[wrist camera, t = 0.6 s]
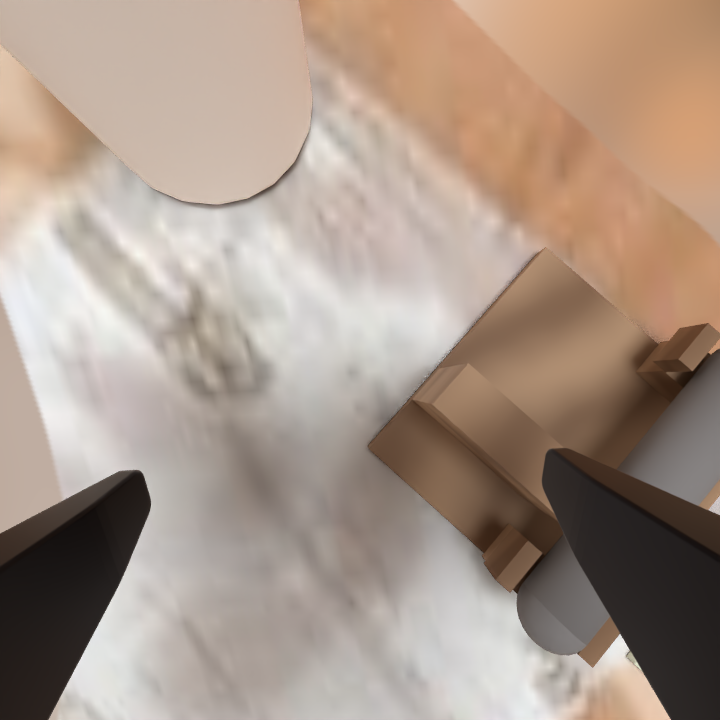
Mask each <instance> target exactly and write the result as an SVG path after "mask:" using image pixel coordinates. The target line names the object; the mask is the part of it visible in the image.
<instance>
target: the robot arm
mask: <svg viewBox="0 0 720 720" xmlns="http://www.w3.org/2000/svg"><path fill="white" fill-rule="evenodd" d="M542 487H543V490H544V492H545V495H546V497H547V499H548V501H549V503H550V505H551V507H552V510H553V512H554V514H555V516H556V518H557V520H558V523H559V525H560V527H561V529H562V531H563V533H564V535H565V538H566V540H567V542H568V544H569V546H570V548H571V550H572V552H573V554H574V556H575V558H576V559H577V561H578V563H579V565H580V566H581V568H582V570H583V572H584V573H585V575H586V577H587V578H588V580H589V582H590V583H591V585H592V587H593V588H594V590H595V592H596V594H597V595H598V597H599V599H600V600H601V602H602V604H603V605H604V607H605V609H606V610H607V612H608V614H609V616H610V617H611V619H612V621H613V622H614V624H615V626H616V627H617V629H618V631H619V632H620V634H621V636H622V638H623V639H624V641H625V643H626V644H627V646H628V648H629V649H630V651H631V653H632V654H633V656H634V658H635V660H636V661H637V663H638V665H639V666H640V668H641V670H642V671H643V673H644V675H645V676H646V678H647V680H648V682H649V683H650V685H651V687H652V688H653V690H654V692H655V693H656V695H657V697H658V699H659V700H660V702H661V704H662V705H663V707H664V709H665V710H666V712H667V714H668V715H669V717H670V719H671V720H720V515H718V514H716V513H713V512H711V511H709V510H706V509H704V508H702V507H700V506H697V505H695V504H693V503H691V502H688V501H686V500H684V499H682V498H679V497H677V496H675V495H673V494H670V493H668V492H666V491H664V490H661V489H659V488H657V487H655V486H652V485H650V484H648V483H646V482H643V481H641V480H639V479H637V478H634V477H632V476H630V475H628V474H625V473H623V472H621V471H619V470H616V469H614V468H612V467H610V466H607V465H605V464H603V463H601V462H598V461H596V460H594V459H592V458H589V457H587V456H585V455H583V454H580V453H578V452H576V451H574V450H571V449H569V448H551V449H549V450H548V451H547V452H546V455H545V461H544V467H543V473H542ZM150 508H151V499H150V495H149V492H148V488H147V485H146V481H145V478H144V475H143V473H142V472H141V471H139V470H126V471H119V472H117V473H115V474H113V475H111V476H109V477H107V478H105V479H103V480H102V481H100V482H98V483H96V484H94V485H92V486H90V487H88V488H86V489H84V490H82V491H81V492H79V493H77V494H75V495H73V496H71V497H69V498H67V499H65V500H63V501H61V502H60V503H58V504H56V505H54V506H52V507H50V508H48V509H46V510H44V511H42V512H41V513H39V514H37V515H35V516H33V517H31V518H29V519H27V520H25V521H23V522H21V523H20V524H18V525H16V526H14V527H12V528H10V529H8V530H6V531H4V532H2V533H1V534H0V720H48V719H49V718H50V716H51V714H52V712H53V710H54V708H55V706H56V704H57V702H58V700H59V698H60V697H61V695H62V693H63V691H64V689H65V687H66V685H67V683H68V681H69V679H70V678H71V676H72V674H73V672H74V670H75V668H76V666H77V664H78V662H79V660H80V658H81V657H82V655H83V653H84V651H85V649H86V647H87V645H88V643H89V641H90V639H91V637H92V636H93V634H94V632H95V630H96V628H97V626H98V624H99V622H100V620H101V618H102V616H103V615H104V613H105V611H106V609H107V607H108V605H109V603H110V601H111V599H112V597H113V596H114V594H115V592H116V590H117V588H118V586H119V584H120V582H121V579H122V577H123V575H124V573H125V570H126V568H127V566H128V563H129V561H130V558H131V556H132V554H133V551H134V549H135V546H136V544H137V541H138V539H139V536H140V534H141V532H142V529H143V527H144V524H145V522H146V519H147V517H148V515H149V512H150Z"/></svg>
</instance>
